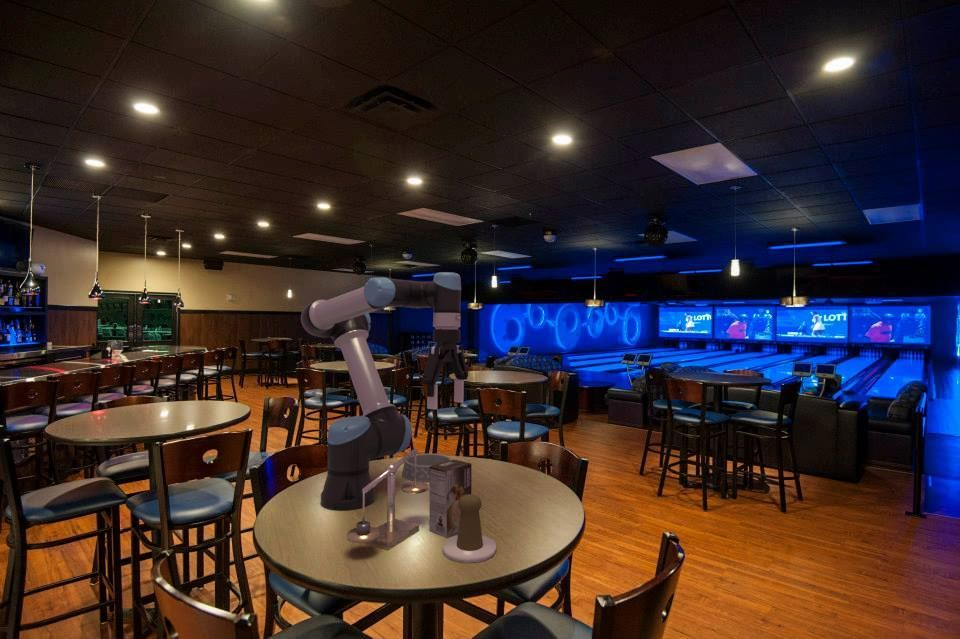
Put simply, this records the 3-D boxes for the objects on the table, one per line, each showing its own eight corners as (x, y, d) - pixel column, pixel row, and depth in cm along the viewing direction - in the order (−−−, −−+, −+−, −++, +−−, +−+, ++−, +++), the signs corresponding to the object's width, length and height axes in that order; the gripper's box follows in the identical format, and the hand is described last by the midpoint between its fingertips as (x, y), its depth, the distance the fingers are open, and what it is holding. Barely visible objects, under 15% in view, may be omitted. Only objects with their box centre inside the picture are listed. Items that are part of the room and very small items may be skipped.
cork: (462, 537, 116) (462, 490, 116) (486, 541, 113) (487, 493, 114) (452, 548, 110) (452, 498, 110) (477, 552, 108) (478, 502, 108)
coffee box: (453, 520, 129) (454, 458, 129) (472, 526, 125) (472, 463, 125) (428, 531, 122) (428, 465, 122) (446, 538, 118) (447, 470, 118)
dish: (432, 554, 109) (432, 549, 109) (460, 535, 120) (460, 530, 120) (479, 567, 104) (479, 562, 104) (504, 545, 114) (504, 540, 114)
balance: (338, 554, 109) (339, 468, 109) (410, 515, 132) (411, 443, 132) (366, 563, 105) (367, 473, 105) (435, 521, 128) (436, 447, 129)
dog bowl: (463, 472, 173) (463, 456, 173) (432, 486, 157) (432, 469, 157) (424, 464, 181) (424, 450, 181) (391, 477, 166) (391, 461, 166)
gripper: (432, 328, 124) (431, 413, 124) (480, 328, 146) (479, 400, 146) (408, 328, 128) (407, 410, 127) (458, 328, 150) (457, 398, 149)
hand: (446, 405), depth 136 cm, fingers open, 13 cm apart
